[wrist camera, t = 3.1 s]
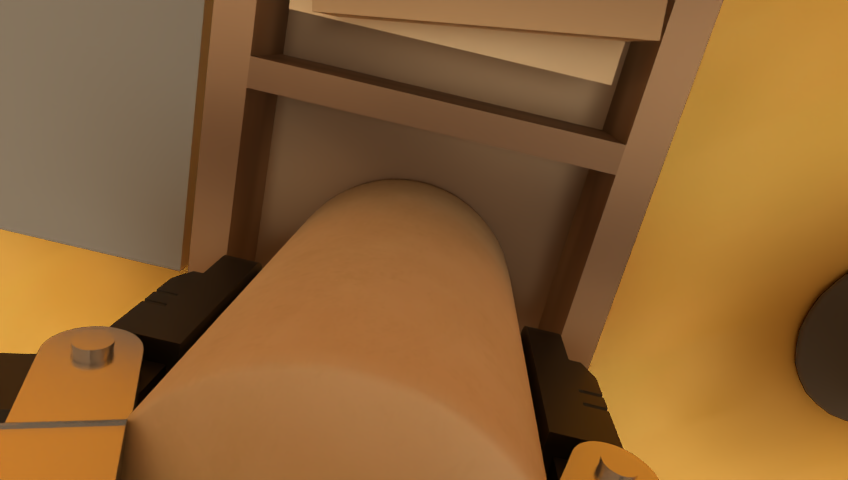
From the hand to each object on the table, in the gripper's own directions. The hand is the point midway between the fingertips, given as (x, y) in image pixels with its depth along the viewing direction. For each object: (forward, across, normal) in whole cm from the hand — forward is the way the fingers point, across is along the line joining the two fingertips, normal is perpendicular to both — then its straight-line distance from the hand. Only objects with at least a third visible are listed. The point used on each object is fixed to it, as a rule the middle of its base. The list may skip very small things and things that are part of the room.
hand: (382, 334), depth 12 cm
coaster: (+3, +8, -2) cm, 9 cm away
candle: (+3, 0, 0) cm, 3 cm away
